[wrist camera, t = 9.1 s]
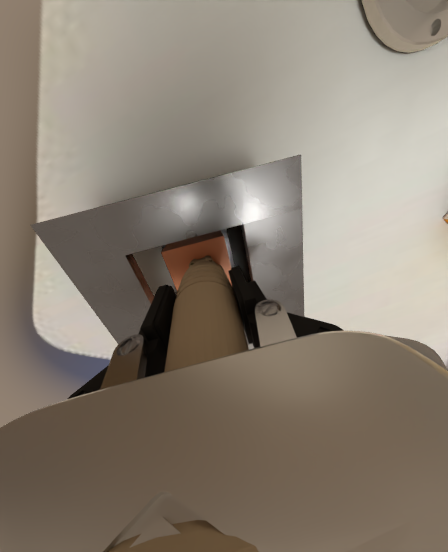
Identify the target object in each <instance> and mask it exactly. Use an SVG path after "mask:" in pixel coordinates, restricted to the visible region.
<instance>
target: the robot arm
mask: <svg viewBox="0 0 448 552" xmlns="http://www.w3.org/2000/svg"><path fill="white" fill-rule="evenodd" d="M362 4H363V7H364V10H365V13H366V16H367V19H368V22H369V24H370V25H371V27H372V29H373V31H374V32H375V34H376V36H377V37H378V38H379V39H380V40H381V41H382V42H383V43H384V44H385V45H386V46H388V47H390V48H392V49H394V50H396V51H400V52H408V53H410V52H416V51H421V50H424V49H426V48H429V47H431V46H433V45H435V44H437V43H439V42H440V41H442V40H443V39H445V38H446V37H448V0H362ZM228 272H229V276H230V280H231V284H232V288H233V291H234V294H235V296H236V299H237V303H238V306H239V310H240V314H241V318H242V322H243V327H244V330H245V333H246V336H247V339H248V342H249V344H252V343H253V346H254V349H250V350H246V351H242V352H239V353H235V354H231V355H227V356H223V357H219V358H216V359H212V360H208V361H204V362H201V363H197V364H193V365H189V366H186V367H182V368H178V369H175V370H171V371H167V372H164V371H165V364H166V357H167V350H168V343H169V336H170V329H171V321H172V314H173V307H174V303H175V299H176V295H175V292H174V290H173V288H172V286H168V285H164V286H160V287H159V288H158V290H157V292H156V295H155V297H154V299H153V301H152V303H151V306H150V308H149V310H148V312H147V314H146V317H145V319H144V321H143V323H142V325H141V328H140V331H139V333H138V334H136V335H132V336H130V337H128V338H126V339H124V340H123V341H122V342H121V343H119V344H118V346H117V347H116V348H115V350H114V352H113V355H112V358H111V360H110V363H109V365H108V366H107V367H106V368H105V369H103V370H102V371H101V372H100V373H98V374H97V375H96V376H95V377H93V378H92V379H91V380H90V381H89V382H87V383H86V384H85V385H84V386H82V387H81V388H80V389H78V390H77V391H76V392H75V393H73V394H72V395H71V396H70V397H69V398H68V399H67V400H64V401H60V402H57V403H54V404H51V405H48V406H45V407H43V408H40V409H37V410H35V411H32V412H30V413H28V414H26V415H24V416H21V417H19V418H17V419H15V420H13V421H11V422H9V423H8V424H6V425H4V426H3V427H1V428H0V552H108V551H109V550H110V549H111V548H112V547H114V546H116V545H117V544H119V543H121V542H122V541H124V540H126V539H129V538H132V537H134V536H137V535H139V534H141V535H140V536H139V537H138V538H137V539H136V541H135V542H134V543H133V544H132V545H131V546H130V547H133V546H135V545H138V544H140V543H143V542H146V541H148V540H151V539H154V538H157V537H163V536H168V535H174V534H180V532H179V531H178V530H177V529H176V528H175V527H174V526H173V525H172V524H176V523H182V522H188V521H194V520H206V521H207V522H209V523H210V524H211V525H213V526H214V527H215V528H217V529H218V530H219V531H221V532H222V533H223V534H225V535H229V536H236V537H238V538H240V539H242V540H244V541H246V542H248V543H250V544H252V545H254V546H256V548H257V549H258V551H259V552H448V369H447V368H446V366H445V364H444V363H443V361H442V360H441V358H440V356H439V355H438V354H437V353H436V352H435V351H434V350H433V349H431V348H430V347H428V346H427V345H425V344H422V343H420V342H418V341H414V340H410V339H405V338H398V337H391V336H384V335H380V334H376V333H370V332H362V331H343V330H342V329H341V328H339V327H338V326H335V325H333V324H329V323H326V322H322V321H318V320H314V319H310V318H307V317H303V316H299V315H295V314H291V313H288V312H286V310H285V307H284V305H283V304H282V303H281V302H279V301H277V300H272V299H268V300H267V299H266V297H265V296H264V294H263V292H262V291H261V289H260V287H259V286H258V284H257V283H256V281H251V282H247V281H246V279H245V277H244V275H243V274H242V272H241V270H240V268H239V266H236V267H232V268H231V270H229V271H228ZM130 547H129V548H130Z"/></svg>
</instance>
